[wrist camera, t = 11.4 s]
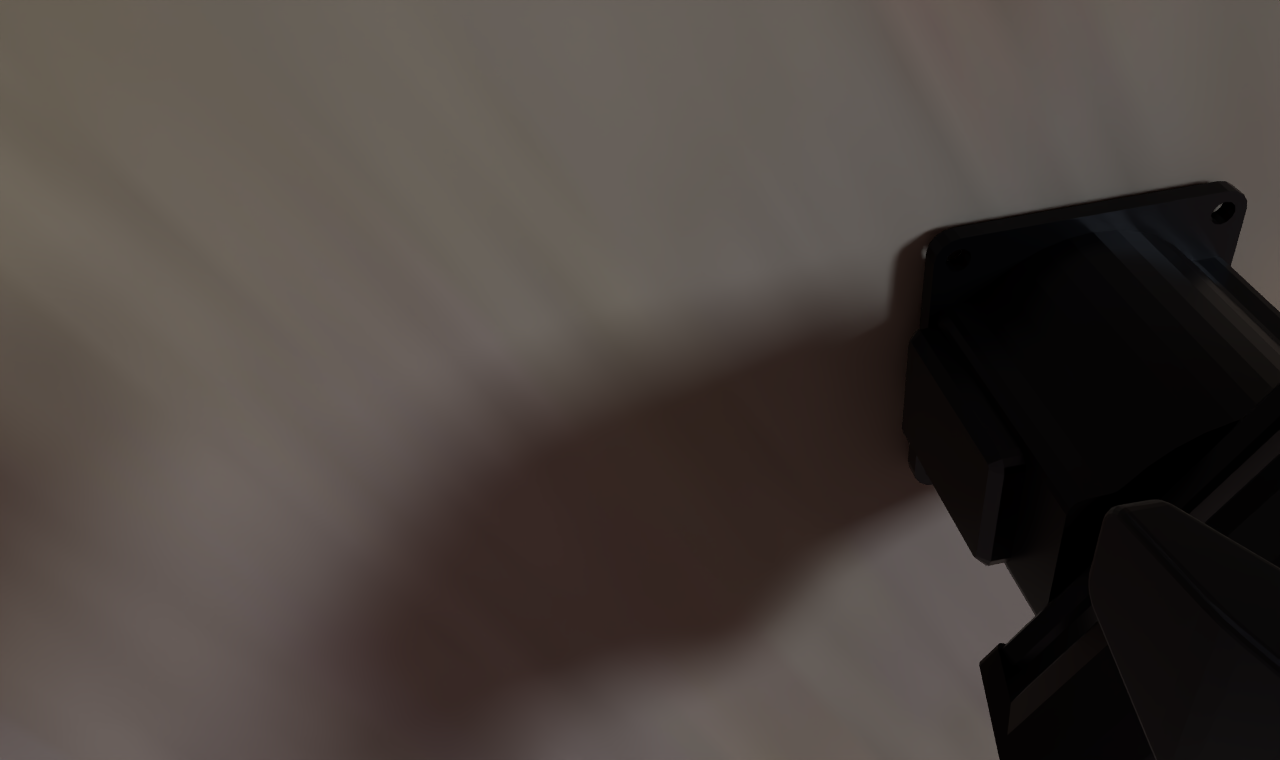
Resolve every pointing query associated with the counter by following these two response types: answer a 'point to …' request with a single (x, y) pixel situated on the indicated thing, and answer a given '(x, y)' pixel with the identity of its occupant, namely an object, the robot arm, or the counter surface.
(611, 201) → the counter surface
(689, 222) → the counter surface
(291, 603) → the counter surface
